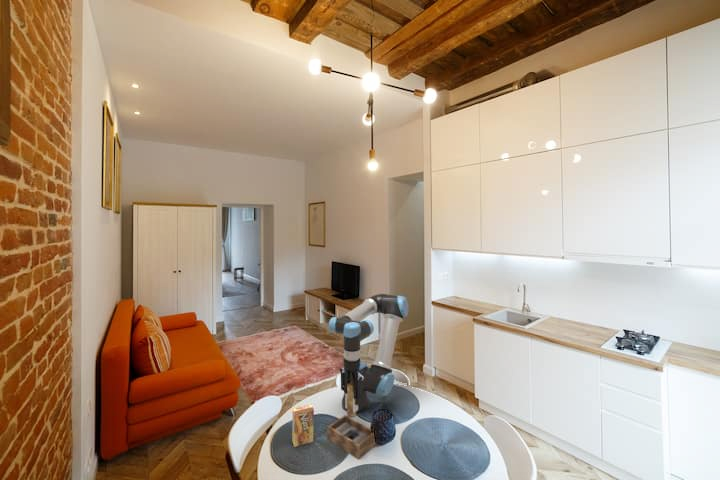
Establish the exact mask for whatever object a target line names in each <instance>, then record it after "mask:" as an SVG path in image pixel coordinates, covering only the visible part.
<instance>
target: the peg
mask: <svg viewBox="0 0 720 480" xmlns="http://www.w3.org/2000/svg"><path fill="white" fill-rule="evenodd" d="M353 397H354V390H353V383H352V382H349V383H348V384H347V411H346V413H347V415H346V416H348V417H350V418H354V417H356V415H357V413H356V412H355V413H354V412H353Z"/></svg>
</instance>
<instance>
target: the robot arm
mask: <svg viewBox="0 0 720 480" xmlns="http://www.w3.org/2000/svg"><path fill="white" fill-rule="evenodd" d="M376 313H377V314H382V315H383V317H384V322H383V326H382V330H381V334H380V339H379V343H378V347H377V349H376V350H377V351H376V356H375V358H374V359H375V360H374V362H372V363H371V364H370V366H368V365H367V362H366V361H364V360H361V342H362V341H363V340H365V339H367V338H369V337H370V336H371V335H372V334H373V333H374V332H375V331H374V329H375V328H374V324H373V323H372V322H371V321H370V320H368V319H365V318H368V316H370V315H375V314H376ZM408 314H409V302H408V299H407V298H406V297H405V296H403V295H394V294H387V293H378V294H374V295H372V296H369V297H368V298H366V299H364V300H363V302H362V303H361V304H360V305H358V306H356V307H354V308H353V309H351V310H350V311H348V312H347V313H344V315H341V316H340V317H338V316H335V317H334V316H333V317H331V318H330V319H329V321H328V329H329V330H328V331H330V332H331V333H335V334H338V335H343V367H341V368H339V373H340V390H341V391H342V392H343V393H344V394H343V397H342V400H341V407H342V409H343V410H344V411H345V412H347V384H348V383H349V382H352V383H353V390H354V397H353V412H354V413H355V412H356V414H357V413H362V412H366V411H367V410H368V409H369V407H370V400H369V396H368V393H372V394H375V395H377V396H383V397H385V396H388V395H389V394H390V393H391V391H392V389H393V386H394V383H395V375H394V373H393V369H392V367H391V364H392V359H393V353H394V351H395V345H396V341H397V336H398V332H399V328H400V327H399V326H400V324H401V322H403V320H404V318H406V317H408Z"/></svg>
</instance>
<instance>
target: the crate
mask: <svg viewBox="0 0 720 480" xmlns="http://www.w3.org/2000/svg"><path fill="white" fill-rule="evenodd" d="M326 429H327V431H326V432H327V434H326V435H327V437H326V438H327V440H328V441H330V442H331V443H333V444H335V445H337V446H338V447H339V448H340V449H342V450H344V451H345V452H346V453H348V454H349V455H351V456H353V457H354V458H356V459H357V460H359V459H361V458H362V457H363V456H364V455H365V454H366V453H368V452H369V451H370V450H372V448H373V447H374V446H376V445H377V442H376V443H375V439H374V433H372V432H371V430H372V429H371V428H369V427H367V426H366V425H364V424H362V423H360V422H359V421H356V420H355V419H354V418H352V417H348V416H347V415H343V416H342V417H340V418H339V419H336V420H335V421H334V422H333V423H331V424H330V425H327V428H326ZM350 437H352V438H353V439H351V438H350Z"/></svg>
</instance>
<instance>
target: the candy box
mask: <svg viewBox="0 0 720 480" xmlns="http://www.w3.org/2000/svg"><path fill="white" fill-rule="evenodd" d="M314 410H315V409H314V407H313V405H312V404H308V405H304V406H303V405H302V406H299V407H295V408H292V423H291V424H292V426H291V427H292V433H291V437H292V438H291V441H292V444H293V447H294V448H296V447H299V446H303V445H306V444H310V443H314V424H315V423H314V419H315V418H314V415H315V413H314V412H315V411H314Z"/></svg>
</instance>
